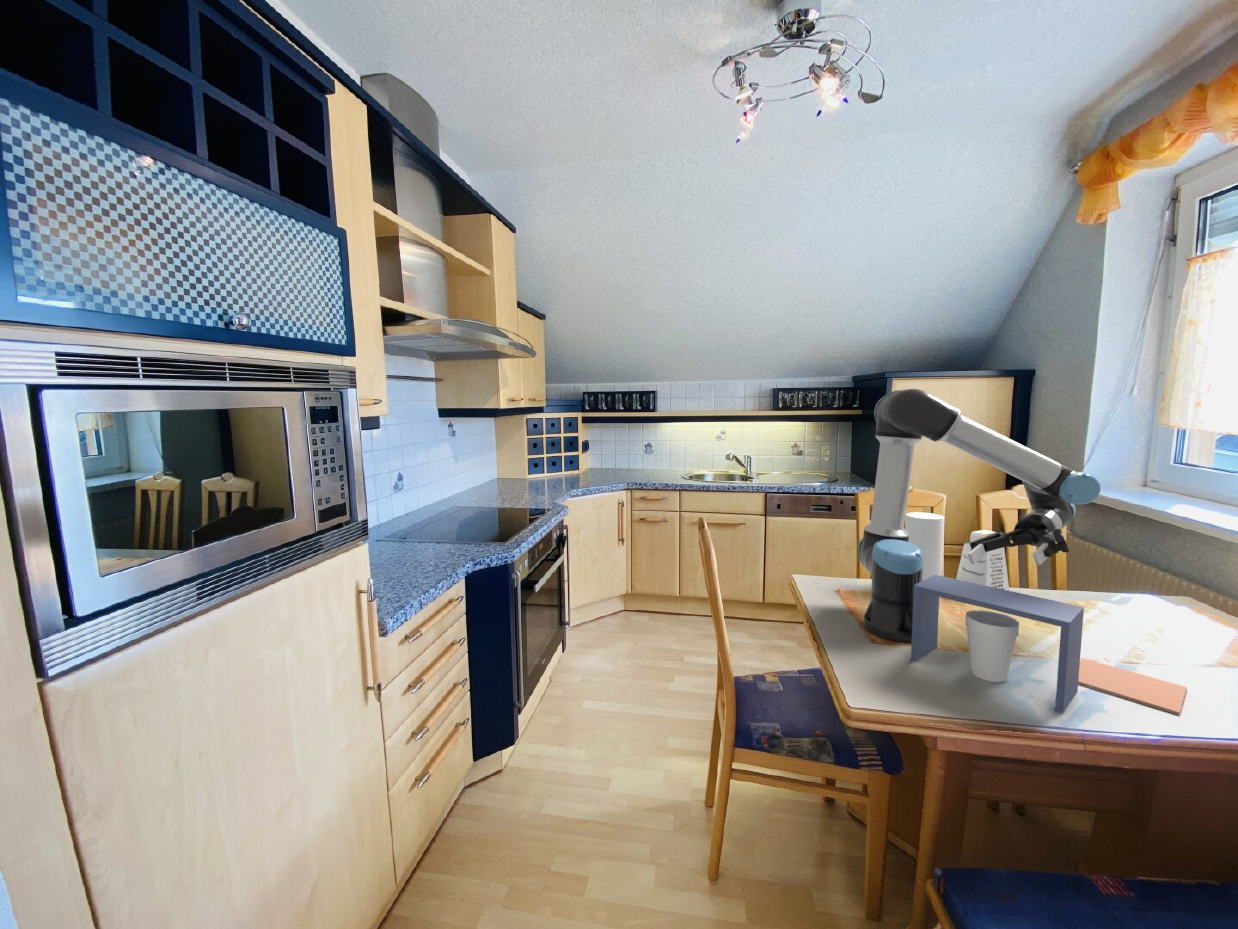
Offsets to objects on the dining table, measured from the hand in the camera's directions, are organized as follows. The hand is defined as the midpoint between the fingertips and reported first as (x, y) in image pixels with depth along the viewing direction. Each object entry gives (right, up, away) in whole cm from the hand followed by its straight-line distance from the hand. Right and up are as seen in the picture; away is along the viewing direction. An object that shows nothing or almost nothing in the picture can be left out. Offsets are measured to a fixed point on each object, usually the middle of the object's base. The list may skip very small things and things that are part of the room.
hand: (1001, 559), depth 118 cm
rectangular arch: (-9, -24, -8) cm, 27 cm away
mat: (+16, -24, -13) cm, 32 cm away
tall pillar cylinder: (+8, -19, +45) cm, 49 cm away
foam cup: (-9, -24, -8) cm, 27 cm away
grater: (+26, -19, +42) cm, 53 cm away
